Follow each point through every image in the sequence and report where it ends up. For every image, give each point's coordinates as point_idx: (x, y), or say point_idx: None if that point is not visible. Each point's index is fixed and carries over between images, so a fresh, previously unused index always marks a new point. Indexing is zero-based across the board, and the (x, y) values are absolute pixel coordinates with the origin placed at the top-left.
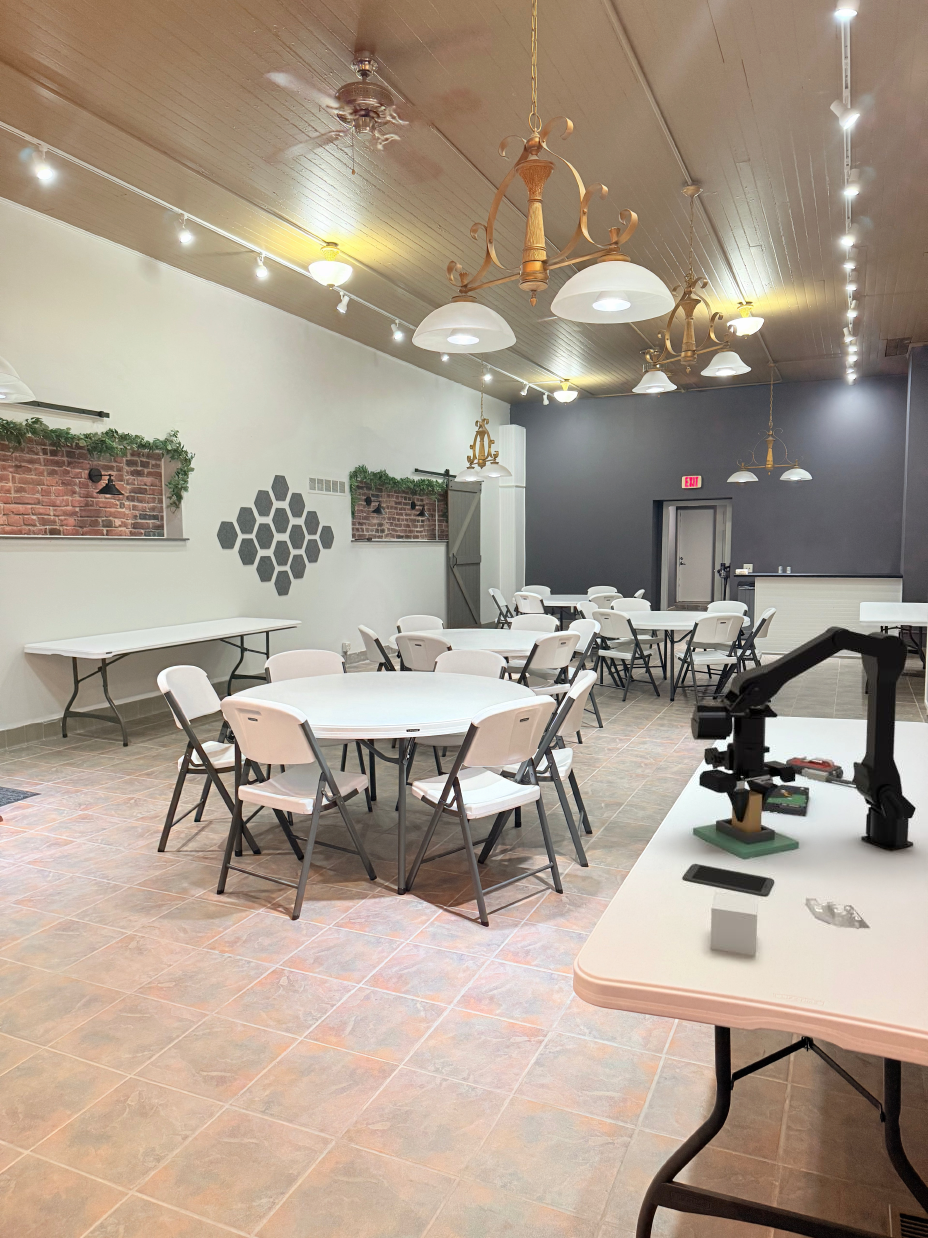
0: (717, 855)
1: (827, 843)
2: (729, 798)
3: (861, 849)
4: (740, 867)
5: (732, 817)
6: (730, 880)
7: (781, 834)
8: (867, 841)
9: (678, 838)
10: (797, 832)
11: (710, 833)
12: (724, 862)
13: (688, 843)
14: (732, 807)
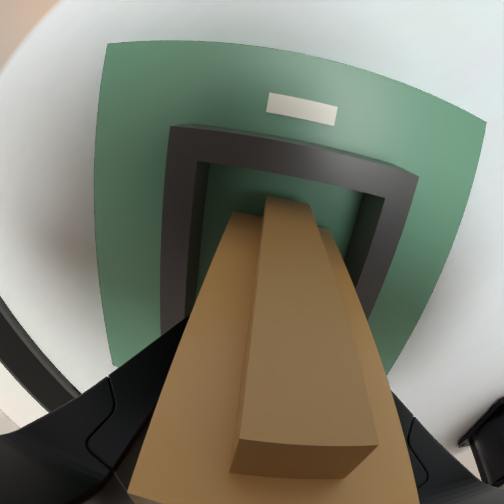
0: (64, 282)
1: (449, 391)
2: (58, 411)
3: (445, 428)
4: (82, 363)
5: (216, 254)
6: (29, 378)
7: (400, 350)
8: (487, 413)
9: (44, 73)
10: (498, 306)
11: (120, 153)
12: (59, 323)
13: (39, 138)
14: (197, 301)
